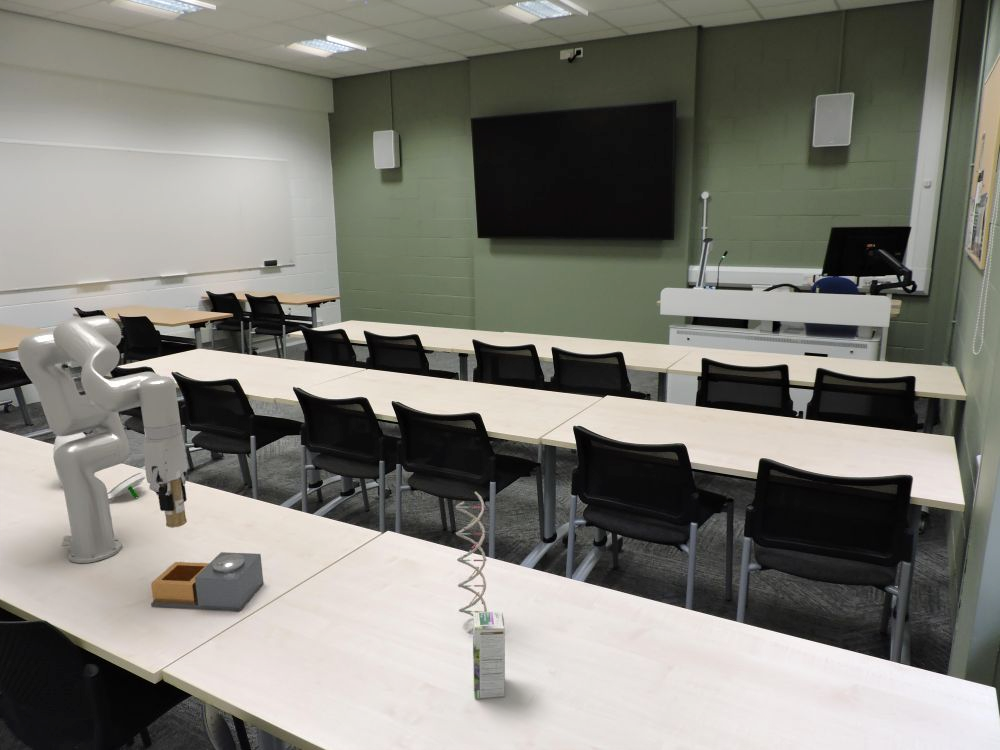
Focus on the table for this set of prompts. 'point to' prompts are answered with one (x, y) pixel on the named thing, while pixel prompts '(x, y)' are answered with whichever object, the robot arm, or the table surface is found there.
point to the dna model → (477, 546)
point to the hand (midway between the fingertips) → (173, 505)
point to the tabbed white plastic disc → (127, 486)
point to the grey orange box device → (210, 583)
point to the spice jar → (176, 504)
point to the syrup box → (488, 654)
